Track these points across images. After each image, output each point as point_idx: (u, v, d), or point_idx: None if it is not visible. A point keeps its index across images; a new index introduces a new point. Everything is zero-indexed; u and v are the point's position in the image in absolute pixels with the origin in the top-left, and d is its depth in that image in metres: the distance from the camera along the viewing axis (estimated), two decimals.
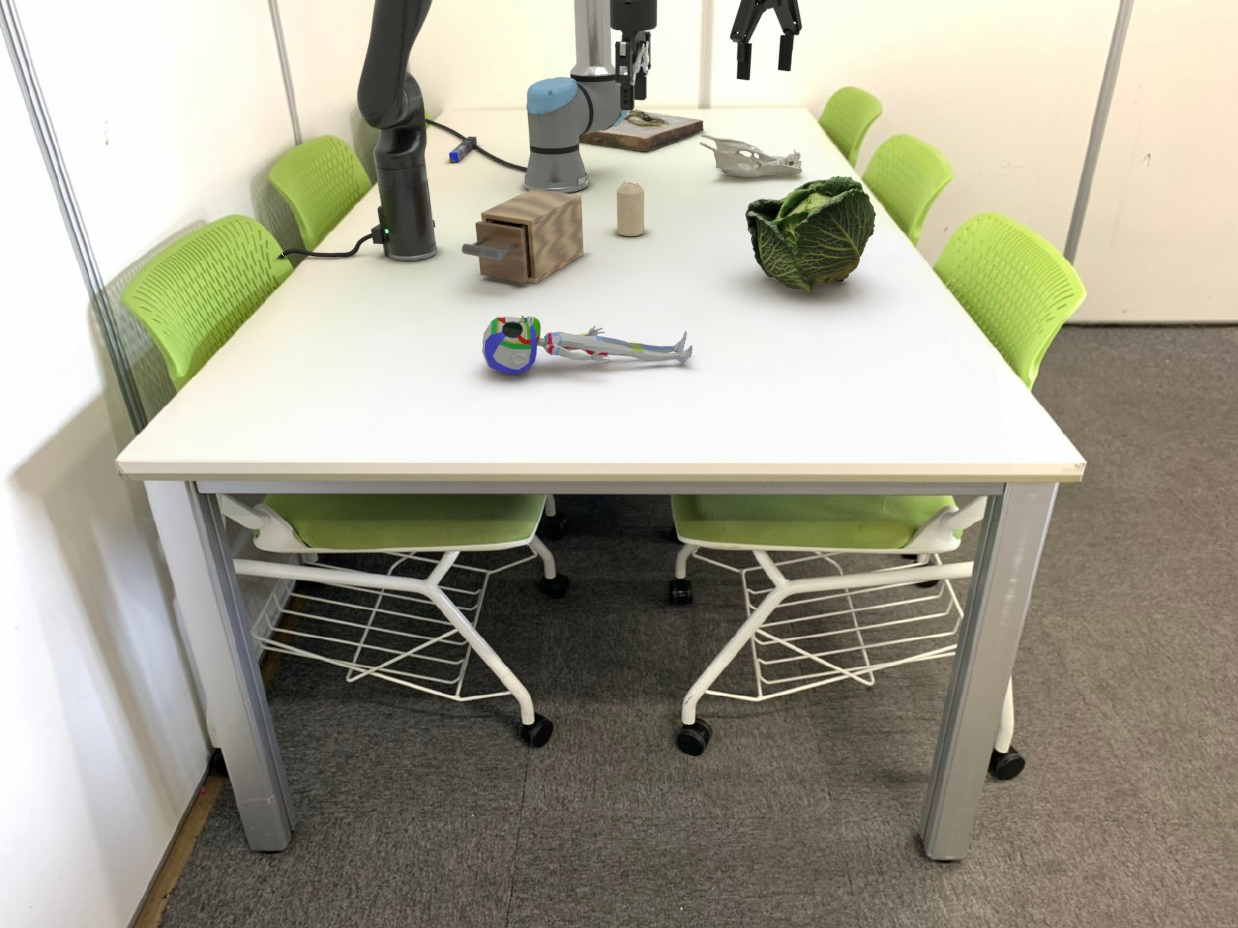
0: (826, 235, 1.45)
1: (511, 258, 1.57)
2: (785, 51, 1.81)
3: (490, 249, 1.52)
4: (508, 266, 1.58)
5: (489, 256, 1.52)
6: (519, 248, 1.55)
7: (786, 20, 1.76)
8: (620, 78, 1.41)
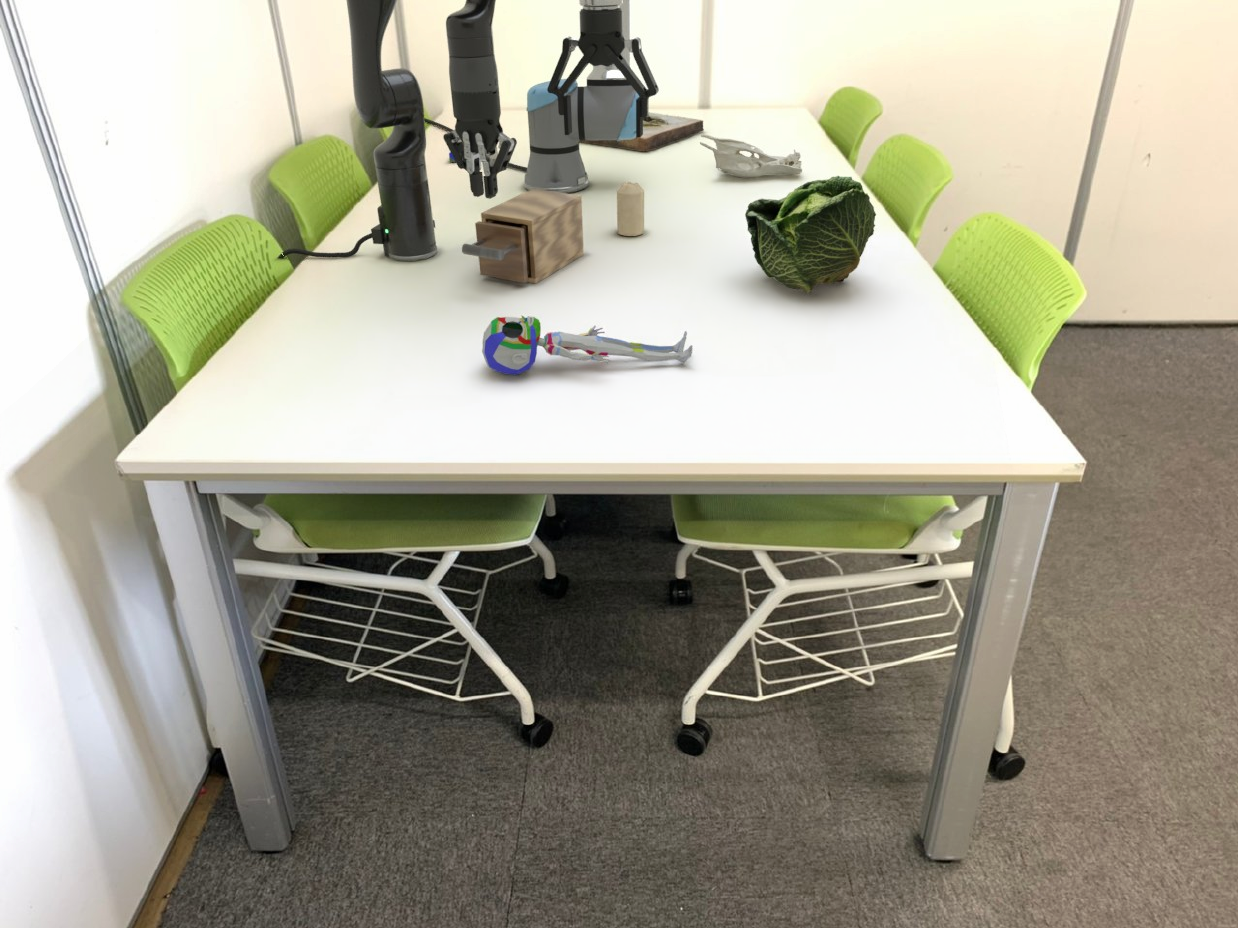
0: (826, 235, 1.45)
1: (511, 258, 1.57)
2: None
3: (490, 249, 1.52)
4: (508, 266, 1.58)
5: (489, 256, 1.52)
6: (519, 248, 1.55)
7: None
8: (500, 167, 1.46)
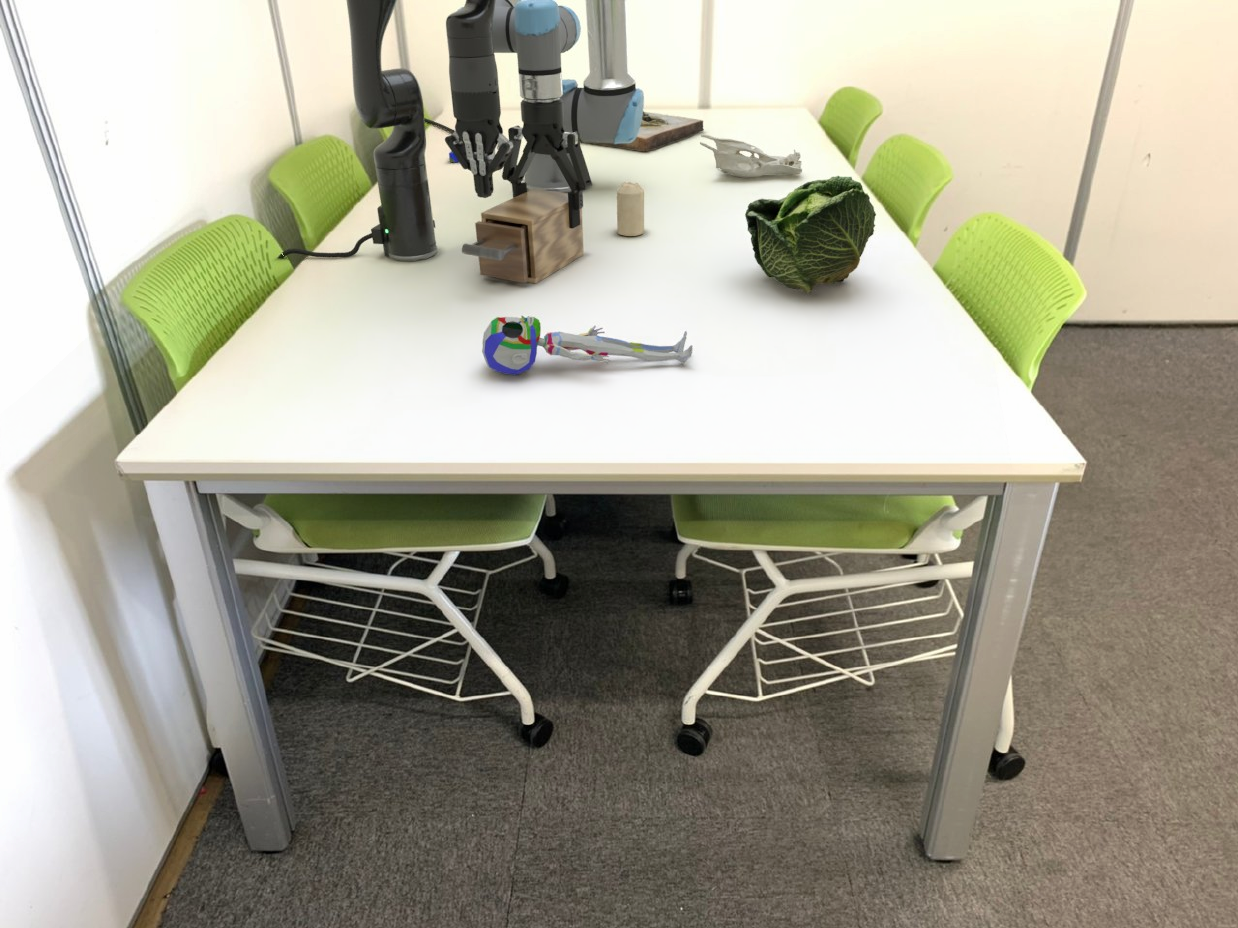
0: (826, 235, 1.45)
1: (511, 258, 1.57)
2: None
3: (490, 249, 1.52)
4: (508, 266, 1.58)
5: (489, 256, 1.52)
6: (519, 248, 1.55)
7: None
8: None
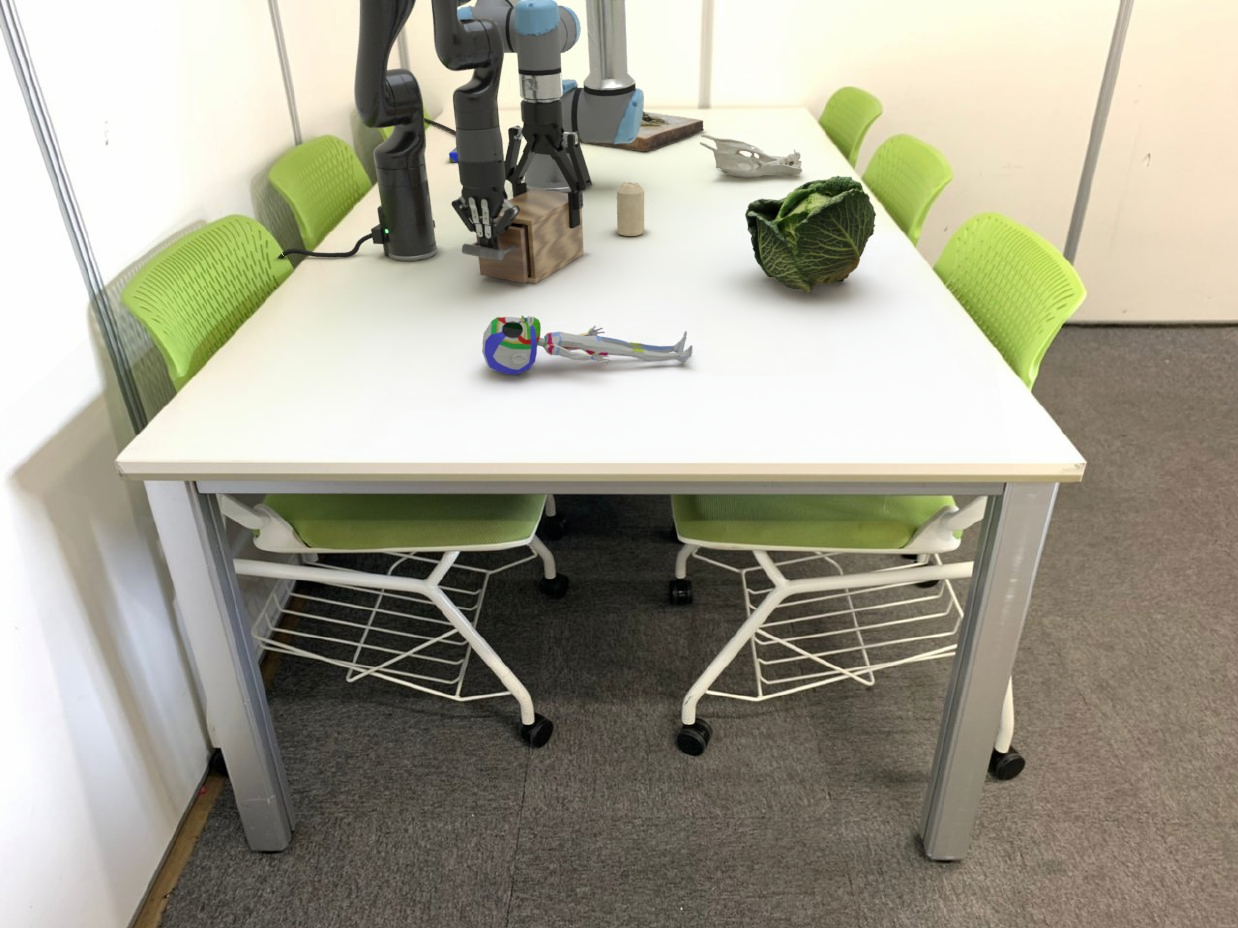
0: (826, 235, 1.45)
1: (511, 258, 1.57)
2: None
3: (490, 249, 1.52)
4: (508, 266, 1.58)
5: (489, 256, 1.52)
6: (519, 248, 1.55)
7: None
8: None
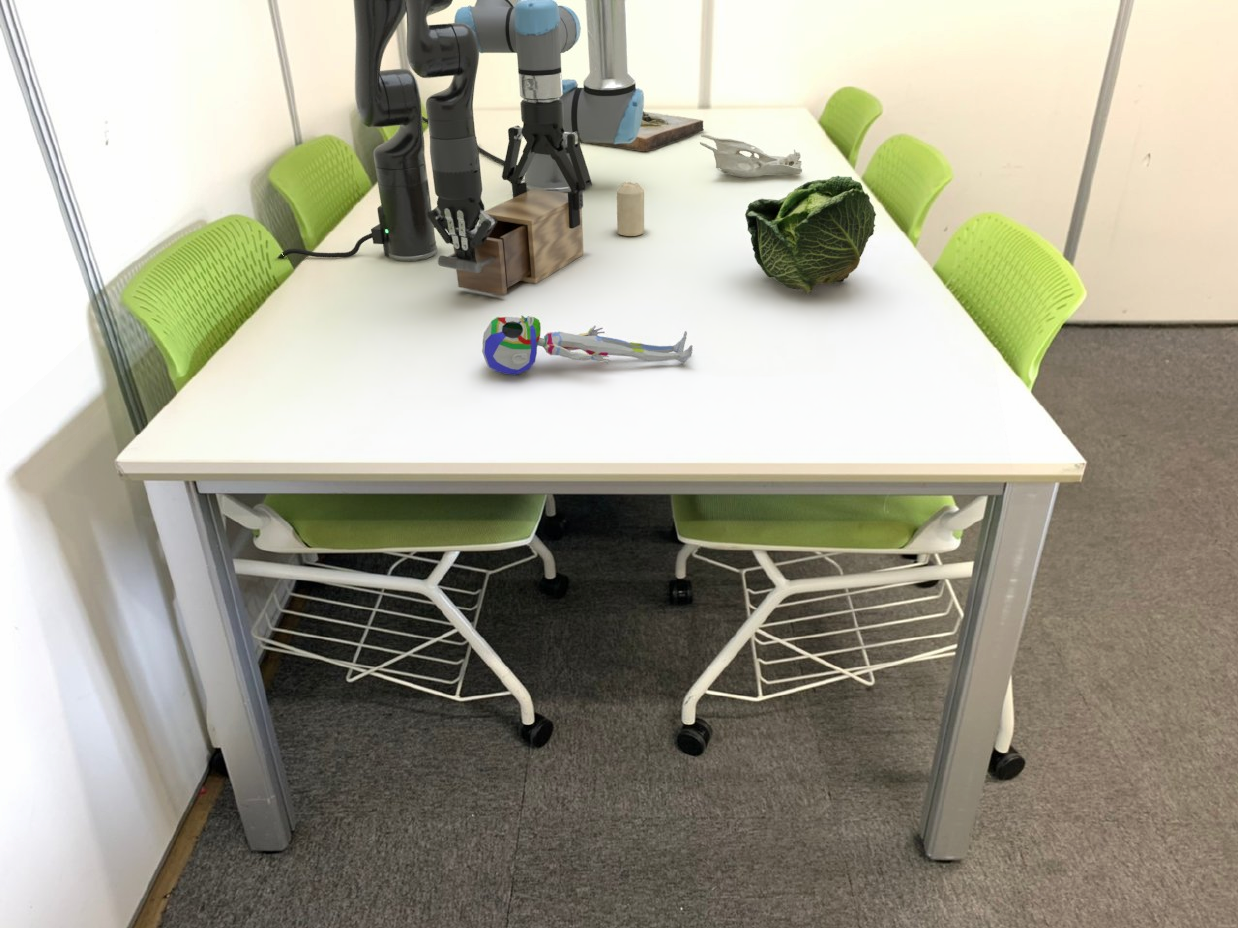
0: (826, 235, 1.45)
1: (489, 270, 1.52)
2: None
3: (467, 261, 1.47)
4: (486, 278, 1.53)
5: (466, 269, 1.47)
6: (497, 260, 1.50)
7: None
8: None
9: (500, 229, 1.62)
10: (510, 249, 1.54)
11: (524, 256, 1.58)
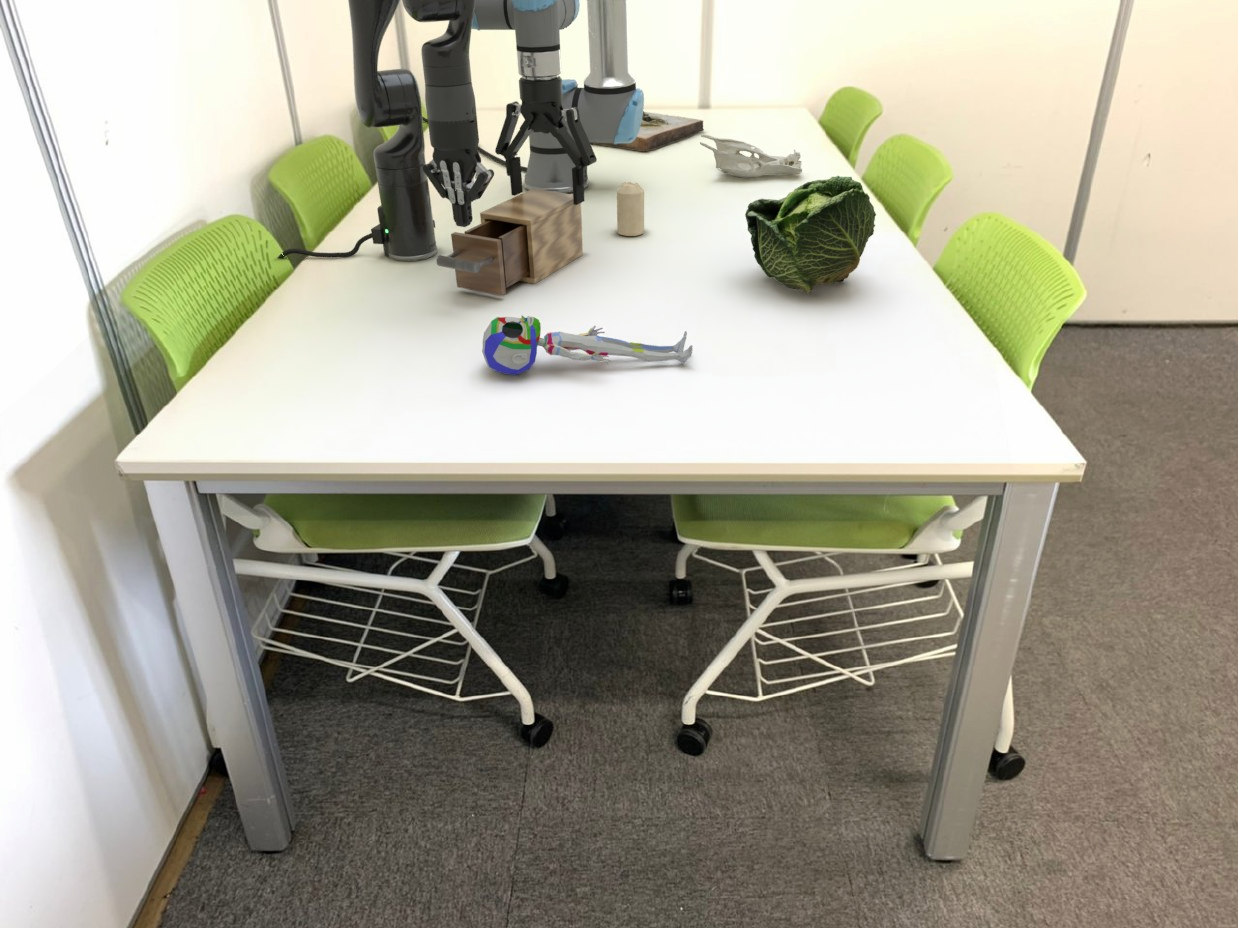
0: (826, 235, 1.45)
1: (488, 270, 1.52)
2: None
3: (465, 261, 1.47)
4: (485, 278, 1.53)
5: (464, 268, 1.47)
6: (495, 260, 1.50)
7: None
8: None
9: (499, 229, 1.62)
10: (509, 249, 1.53)
11: (523, 256, 1.58)
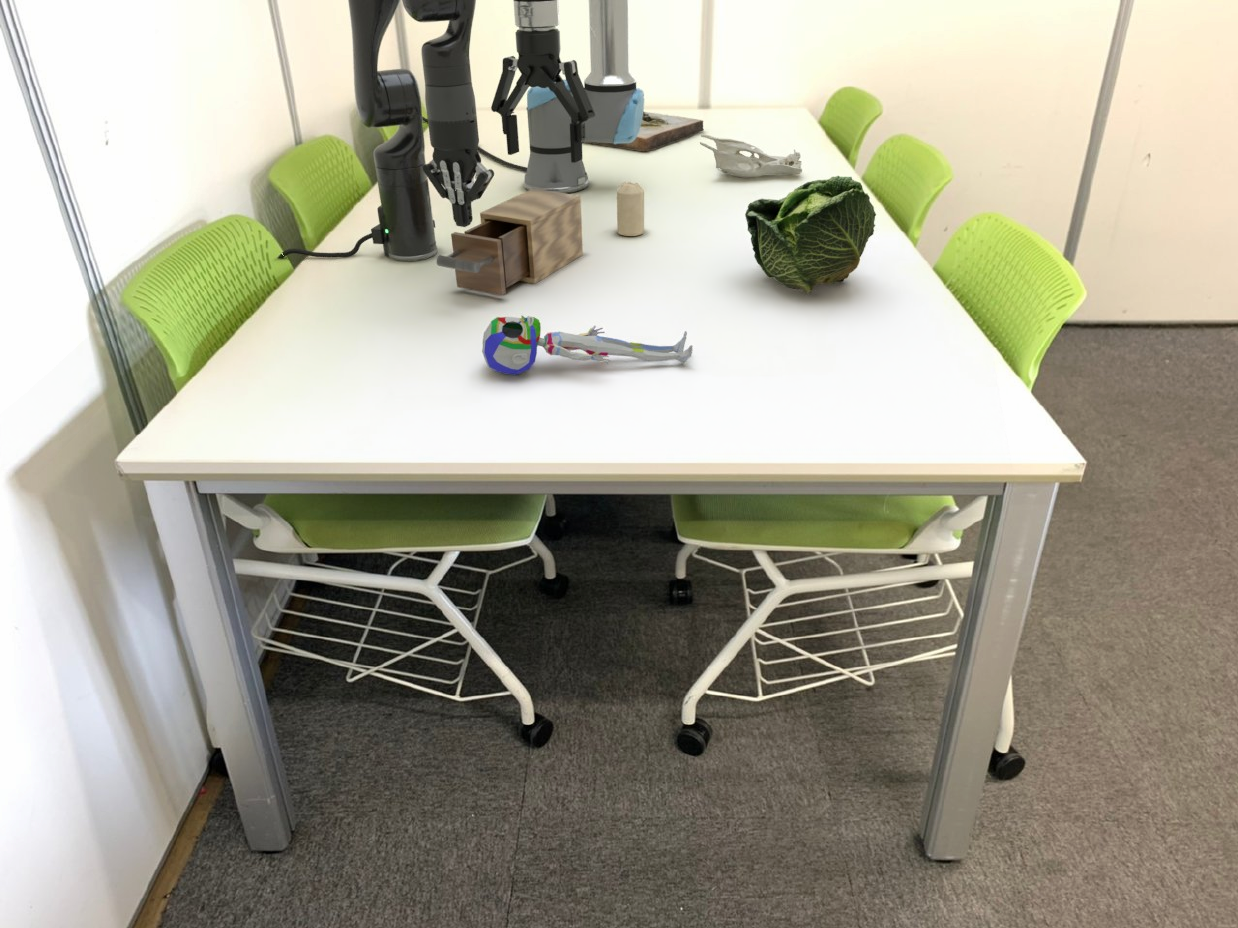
0: (826, 235, 1.45)
1: (488, 270, 1.52)
2: None
3: (465, 261, 1.47)
4: (485, 278, 1.53)
5: (464, 268, 1.47)
6: (495, 260, 1.50)
7: None
8: None
9: (499, 229, 1.62)
10: (509, 249, 1.53)
11: (523, 256, 1.58)
